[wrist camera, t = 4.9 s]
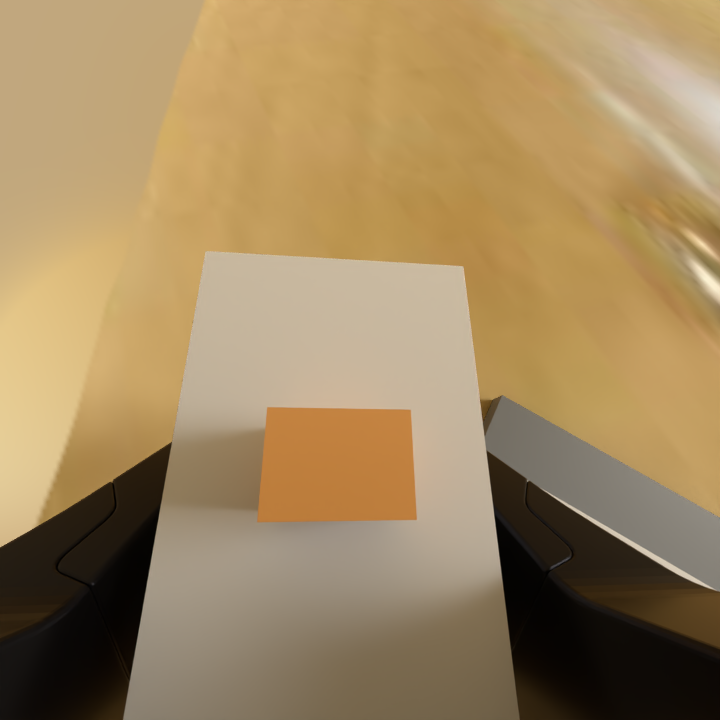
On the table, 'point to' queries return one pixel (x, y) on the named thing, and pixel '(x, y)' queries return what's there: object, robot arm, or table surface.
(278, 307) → the block
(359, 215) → the table surface
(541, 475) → the mounting board
